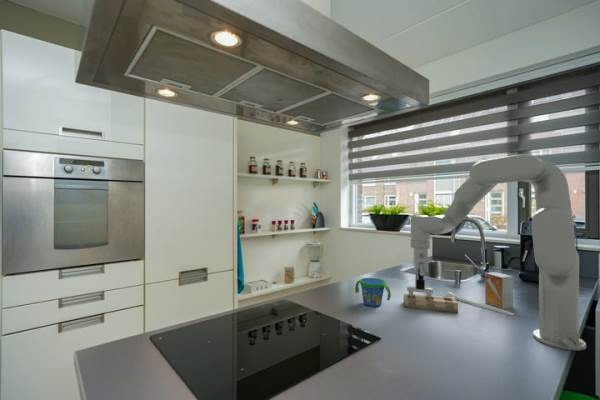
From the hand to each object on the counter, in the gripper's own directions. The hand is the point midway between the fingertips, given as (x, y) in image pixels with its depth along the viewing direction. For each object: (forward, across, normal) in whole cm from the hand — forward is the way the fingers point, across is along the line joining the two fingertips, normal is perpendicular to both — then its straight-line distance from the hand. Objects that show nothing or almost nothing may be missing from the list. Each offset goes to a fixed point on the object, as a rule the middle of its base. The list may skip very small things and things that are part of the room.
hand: (419, 287), depth 125 cm
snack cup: (+8, -3, +19) cm, 21 cm away
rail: (+8, 0, -4) cm, 9 cm away
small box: (+8, +12, -33) cm, 36 cm away
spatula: (+8, +9, -24) cm, 27 cm away
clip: (+5, 0, 0) cm, 5 cm away
